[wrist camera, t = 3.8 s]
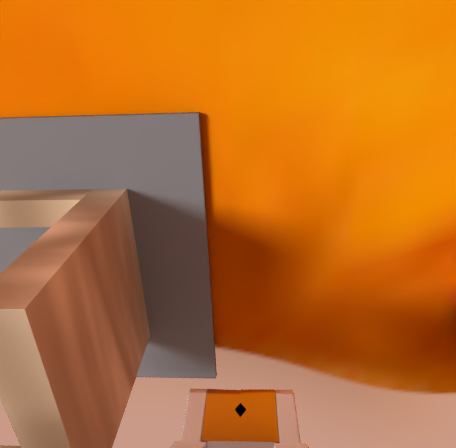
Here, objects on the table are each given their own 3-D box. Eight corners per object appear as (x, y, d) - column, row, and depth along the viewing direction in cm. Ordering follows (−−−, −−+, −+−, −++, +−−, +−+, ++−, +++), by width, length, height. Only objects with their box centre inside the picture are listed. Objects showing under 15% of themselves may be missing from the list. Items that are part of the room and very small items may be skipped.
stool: (126, 188, 16) (24, 308, 9) (150, 335, 19) (91, 508, 12) (1, 190, 16) (-197, 307, 9) (46, 334, 20) (-71, 502, 12)
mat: (199, 112, 15) (198, 113, 14) (216, 373, 21) (216, 378, 20) (-270, 125, 16) (-279, 126, 16) (-125, 368, 22) (-130, 372, 22)
